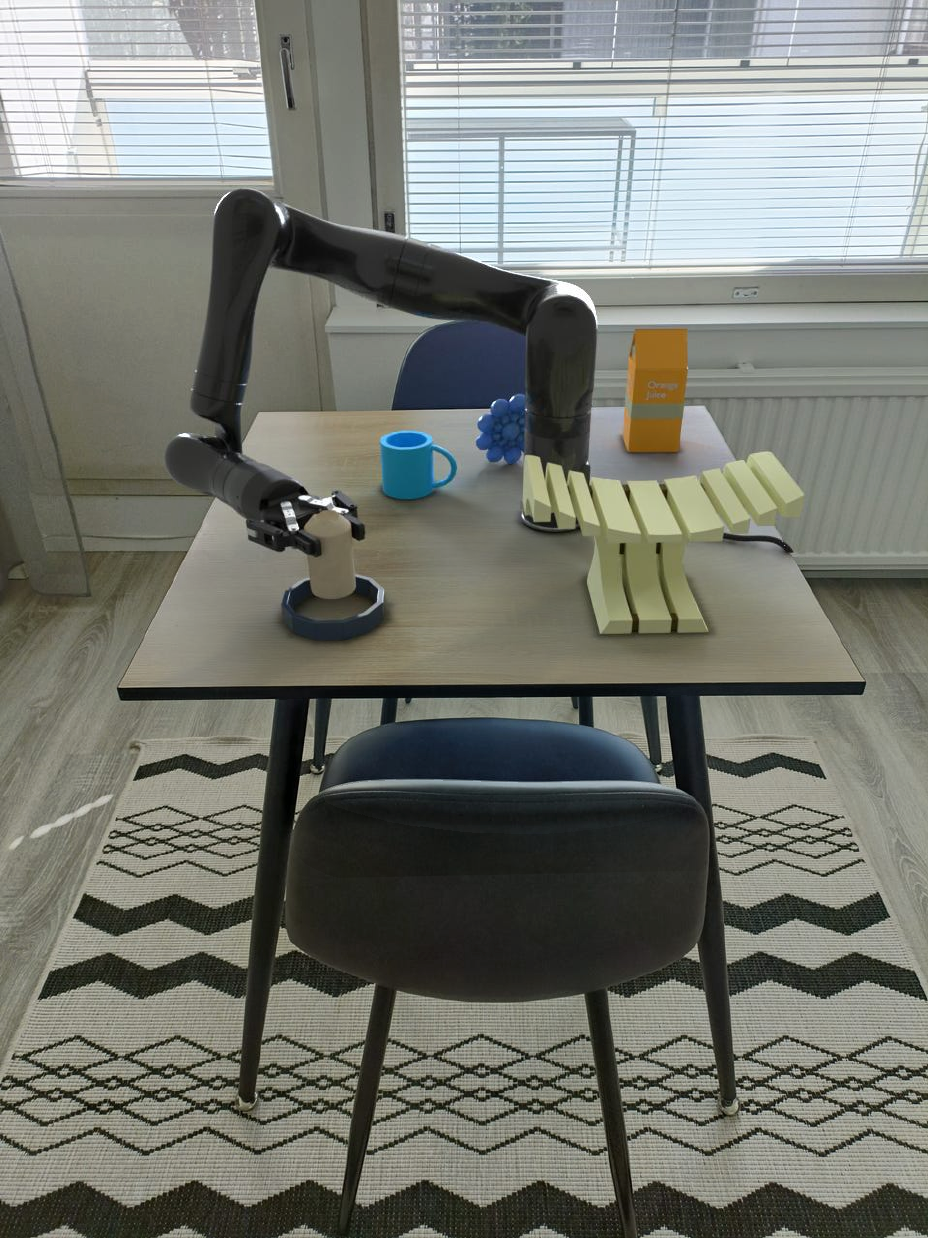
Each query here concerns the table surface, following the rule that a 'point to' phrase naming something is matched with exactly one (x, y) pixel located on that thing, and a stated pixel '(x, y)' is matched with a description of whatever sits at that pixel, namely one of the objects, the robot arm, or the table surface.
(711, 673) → the table surface
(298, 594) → the ring
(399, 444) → the mug
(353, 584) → the candle
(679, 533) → the slatted curved stool
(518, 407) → the blue ball flower
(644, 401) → the orange juice
